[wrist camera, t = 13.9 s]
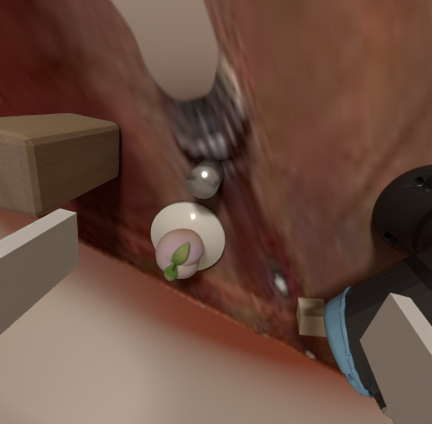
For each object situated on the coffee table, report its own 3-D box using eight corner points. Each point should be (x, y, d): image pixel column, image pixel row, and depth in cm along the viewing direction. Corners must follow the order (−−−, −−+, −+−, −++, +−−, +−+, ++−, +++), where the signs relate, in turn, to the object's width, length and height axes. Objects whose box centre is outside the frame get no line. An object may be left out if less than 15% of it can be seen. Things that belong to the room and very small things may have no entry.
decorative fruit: (172, 211, 48) (151, 237, 39) (213, 226, 48) (201, 255, 38) (162, 250, 52) (141, 282, 43) (200, 264, 52) (187, 298, 42)
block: (73, 165, 49) (-37, 203, 31) (69, 111, 45) (-61, 118, 27) (121, 176, 48) (36, 221, 30) (121, 122, 44) (24, 137, 26)
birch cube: (323, 298, 52) (329, 317, 47) (320, 317, 54) (326, 336, 49) (297, 297, 53) (301, 315, 48) (296, 315, 55) (299, 334, 50)
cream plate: (232, 211, 47) (231, 214, 46) (217, 273, 54) (216, 278, 52) (157, 193, 48) (154, 195, 47) (151, 256, 55) (148, 260, 53)
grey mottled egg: (227, 161, 44) (221, 171, 37) (221, 188, 46) (214, 202, 40) (199, 155, 44) (188, 164, 38) (195, 181, 46) (184, 194, 40)
